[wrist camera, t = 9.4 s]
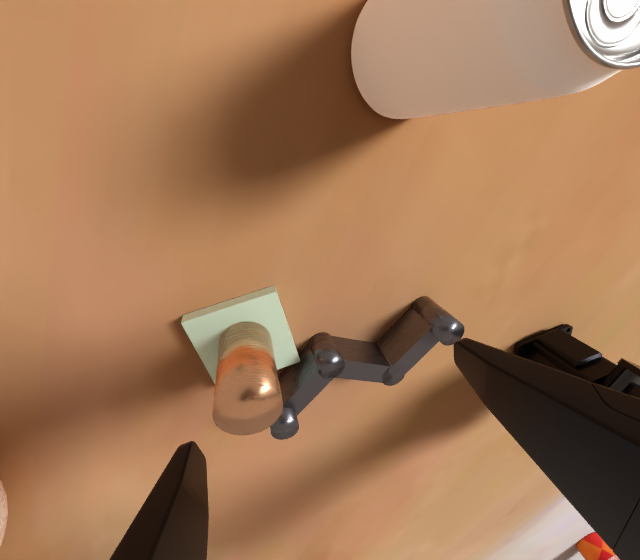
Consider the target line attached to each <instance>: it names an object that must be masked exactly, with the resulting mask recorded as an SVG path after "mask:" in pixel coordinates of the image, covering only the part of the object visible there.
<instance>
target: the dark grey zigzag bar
mask: <svg viewBox="0 0 640 560" xmlns="http://www.w3.org/2000/svg"><path fill="white" fill-rule="evenodd" d="M463 333H464V326H463V324H462V323H460V322H459V321H458V320H457V319H455V318H454V317H453V316H452V315H450V314H449V313H448V312H447V311H445V310H444V309H443V308H442V307H440V306H439V305H438V304H436V303H435V302H434V301H433V300H431V299H430V298H429V297H420V298H418V299H417V300H416V301H415V302H414V303H413V304H412V307H411V308H410V309H409V310H408V311H407V312H406V313H405V314H404V315H403V316H402V317H401V318H400V319H399V320H398V321H397V322H396V323H395V324H394V326H393V327H392V328H391V329H390V330H389V331H388V332H387V333H386V334H385V335H384V336H383V337H382V338H381V339H380V340H379V341H378V342H377V343H370V342H364V341H358V340H352V339H346V338H341V337H335V336H331V335H330V334H328V333H318V334H316V335H314V336H313V337H312V338H311V340H310V342H309V344H308V345H307V346H306V348H305V349H304V350H303V351H302V352H301V353H300V354H299V358H300V362H298V363H295V364H292V365H289V366H288V367H287V368H286V369H285V370H284V371H283V372H282V373H281V374H280V375H279V377H278V379H279V384H280V390H281V395H282V401H283V409H282V412H281V415H280V416H279V418H278V419H277V421H276V422H275V423H274V424H272V425H271V426H270V428H271V434H272V436H273V437H274V438H276V439H281V440H282V439H288V438H290V437H292V436H294V435H295V434H296V433H297V431H298V429H299V424H298V420H297V415H298V414H299V413H300V412H301V411H302V410H303V409H304V408H305V407H306V406H307V405H308V404H309V403H310V402H311V401H312V400H313V399H314V398H315V397H316V396H317V395H318V394H319V393H320V392H321V391H322V389H323V388H324V387H325V386H326V385H327V384H328V383H329V382H330V381H331V380H332V379H333V378H344V379H353V380H362V381H371V382H379V383H384V384H385V385H388V386H391V385H395V384H397V383H399V382H400V381H401V380H402V379H403V377H404V375H405V374H406V373H407V372H408V371H409V370H410V369H411V368H412V367H413V366H414V365H415V364H416V363H417V362H418V361H419V360H420V359H421V358H422V357H423V356H424V355H425V354H426V353H427V352H428V351H429V350H430V349H431V348H432V347H434V346H435V345H436V344H437V343H438V342H439V341H440V342H441V343H442V344H443V345H452V344H454V342H455V341H457V340H460V339H461V337H462V336H463Z"/></svg>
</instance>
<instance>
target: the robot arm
mask: <svg viewBox="0 0 640 560" xmlns="http://www.w3.org/2000/svg"><path fill="white" fill-rule="evenodd" d="M572 329H573V327H572V326H570V325H568V324H565V325H562V326H560V327H557V328H555V329H552V330H550V331H547V332H544V333H542V334H539V335H537V336H534V337H532V338H529V339H527V340H524V341H521V342H519V343H518V344H516V346H515V352H514V354H511V353H508V352H505V351H502V350H499V349H497V348H494V347H491V346H488V345H485V344H483V343H480V342H477V341H474V340H471V339H468V338H463V339H460V340H457V341H455V342H454V361H455V363H456V365H457V367H458V368H459V370H460V371H461V372H462V374H463V375H464V377H465V378H466V379H467V381H468V382H469V384H470V385H471V386H472V388H473V389H474V391H475V392H476V393H477V395H478V396H479V398H480V399H481V400H482V402H483V403H484V404H485V405H486V407H487V408H488V409H489V410H490V411H491V413H492V414H493V415H494V416H495V417H496V418H497V419H498V421H499V422H500V423H501V424H502V425H503V426H504V427H505V429H506V430H507V431H508V432H509V433H510V434H511V435H512V437H513V438H514V439H515V440H516V441H517V442H518V443H519V445H520V446H521V447H522V448H523V449H524V450H525V451H526V453H527V454H528V455H529V456H530V457H531V458H532V459H533V461H534V462H535V463H536V464H537V465H538V466H539V467H540V469H541V470H542V471H543V472H544V473H545V474H546V476H547V477H548V478H549V479H550V480H551V481H552V482H553V484H554V485H555V486H556V487H557V488H558V489H559V490H560V492H561V493H562V494H563V495H564V496H565V497H566V498H567V500H568V501H569V502H570V503H571V504H572V505H573V506H574V508H575V509H576V510H577V511H578V512H579V513H580V514H581V516H582V517H583V518H584V519H585V520H586V521H587V522H588V524H589V525H590V526H591V527H592V528H593V529H594V530H595V532H596V533H597V534H598V535H599V536H600V537H601V538H602V540H603V541H604V542H605V543H606V544H607V545H608V547H609V548H610V549H612V550H613V553H614V554H615V555H616V556H617V557H618V558H619V559H620V560H640V366H638V365H636V364H634V363H631V362H629V361H627V360H624V359H622V358H621V359H620V361H619V362H618V365H616V364H614V363H612V362H610V361H609V360H607V359H605V358H604V357H602V354H601V353H600V352H598V351H597V350H595V349H593V348H591V347H590V346H588V345H586V344H584V343H583V342H581V341H579V340H577V339H576V338H574V337H572V336H571V333H572ZM208 520H209V513H208V489H207V468H206V459H205V456H204V455H203V453H202V452H201V450H200V449H199V447H198V446H197V444H196V443H195V442H194V441H190V442H188V443H185V444H182V445H180V446H179V447H178V448H177V450H176V452H175V453H174V455H173V457H172V458H171V460H170V461H169V463H168V465H167V466H166V468H165V470H164V471H163V473H162V475H161V476H160V478H159V479H158V481H157V483H156V484H155V486H154V488H153V489H152V491H151V493H150V494H149V496H148V497H147V499H146V501H145V502H144V504H143V506H142V507H141V509H140V511H139V512H138V514H137V515H136V517H135V519H134V520H133V522H132V524H131V525H130V527H129V529H128V530H127V532H126V533H125V535H124V537H123V538H122V540H121V542H120V543H119V545H118V547H117V548H116V550H115V551H114V553H113V555H112V556H111V558H110V560H206V559H207V541H208Z"/></svg>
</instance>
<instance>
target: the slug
mask: <svg viewBox="0 0 640 560" xmlns="http://www.w3.org/2000/svg"><path fill="white" fill-rule="evenodd" d="M282 409H283V401H282V395H281V390H280V384H279V379H278V373H277V367H276V362H275V356H274V351H273V345H272V340H271V335H270V333H269V331H268V330H267V329H266V328H265V327H264V326H263V325H261V324H259V323H256V322H251V321H243V322H238V323H235V324H233V325H231V326H230V327H228V328H227V329H226V330H225V331H224V332H223V333H222V335H221V337H220V340H219V348H218V359H217V370H216V382H215V393H214V404H213V419H214V422H215V424H216V425H217V426H218V427H219V428H220V429H221V430H223V431H225V432H227V433H230V434H234V435H250V434H255V433H258V432H261V431H263V430H265V429H267V428H268V427H270V426H271V425H272V424H274V423H275V422H276V421H277V419H278V418H279V416H280V415H281V412H282Z"/></svg>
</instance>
